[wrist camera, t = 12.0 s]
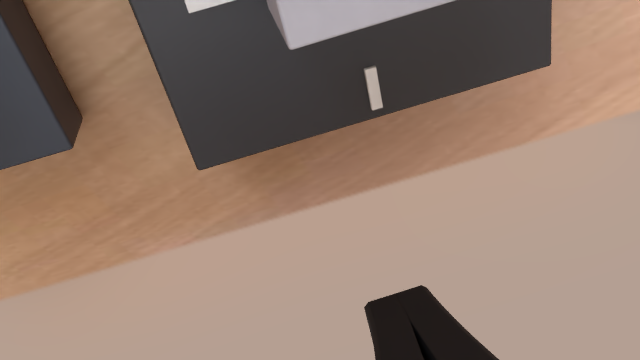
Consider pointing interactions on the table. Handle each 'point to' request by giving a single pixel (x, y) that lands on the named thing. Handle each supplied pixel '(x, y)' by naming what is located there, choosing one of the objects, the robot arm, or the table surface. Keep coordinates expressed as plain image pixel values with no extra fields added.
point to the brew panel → (325, 67)
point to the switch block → (31, 93)
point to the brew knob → (337, 16)
